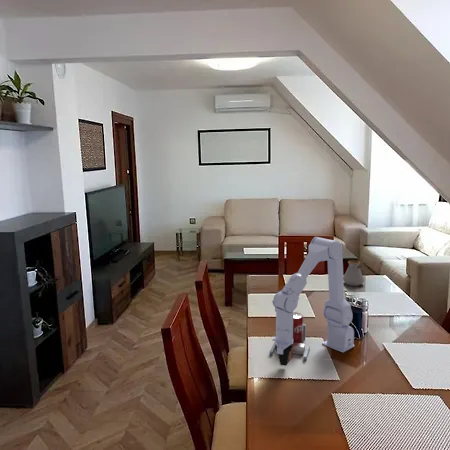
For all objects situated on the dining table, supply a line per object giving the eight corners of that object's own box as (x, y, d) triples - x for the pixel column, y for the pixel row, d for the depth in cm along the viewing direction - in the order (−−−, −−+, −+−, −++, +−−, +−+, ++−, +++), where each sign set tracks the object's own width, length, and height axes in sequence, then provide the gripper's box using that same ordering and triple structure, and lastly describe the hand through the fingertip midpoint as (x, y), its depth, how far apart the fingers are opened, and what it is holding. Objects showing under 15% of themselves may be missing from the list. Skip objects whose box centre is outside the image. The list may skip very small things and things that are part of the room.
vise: (280, 334, 167) (280, 320, 166) (313, 339, 162) (313, 325, 161) (269, 355, 150) (269, 340, 149) (306, 361, 145) (306, 345, 144)
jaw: (278, 346, 156) (278, 340, 155) (304, 350, 153) (304, 343, 152) (272, 358, 147) (272, 350, 147) (300, 362, 144) (300, 355, 144)
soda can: (281, 346, 157) (281, 316, 155) (287, 338, 163) (287, 310, 161) (299, 350, 153) (300, 320, 151) (305, 342, 160) (306, 313, 158)
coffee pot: (340, 280, 237) (341, 255, 234) (361, 281, 236) (362, 255, 233) (348, 293, 216) (349, 265, 213) (370, 293, 215) (372, 265, 212)
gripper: (277, 317, 147) (276, 353, 149) (267, 334, 133) (267, 372, 135) (297, 320, 144) (296, 356, 147) (289, 337, 131) (288, 376, 133)
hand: (283, 364), depth 141 cm, fingers closed
